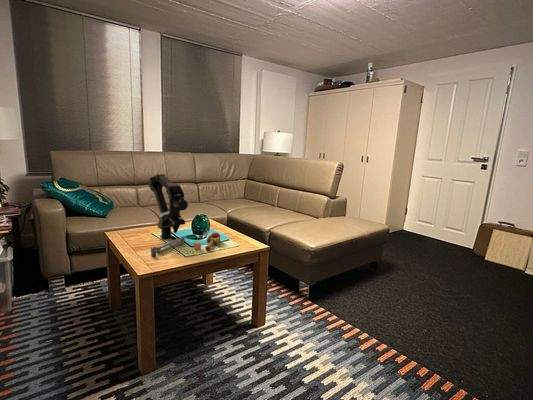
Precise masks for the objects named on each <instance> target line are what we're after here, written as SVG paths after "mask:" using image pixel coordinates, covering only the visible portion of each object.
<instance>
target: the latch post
mask: <svg viewBox="0 0 533 400" xmlns="http://www.w3.org/2000/svg"><path fill="white" fill-rule="evenodd" d="M193 250H194V251H195V252H198V251H201V250H202V242H200V241H195V242H193Z"/></svg>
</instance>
